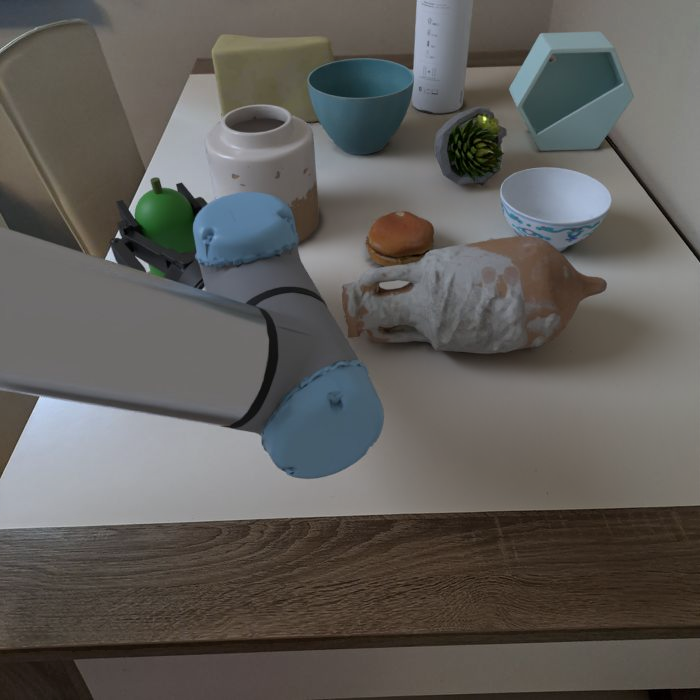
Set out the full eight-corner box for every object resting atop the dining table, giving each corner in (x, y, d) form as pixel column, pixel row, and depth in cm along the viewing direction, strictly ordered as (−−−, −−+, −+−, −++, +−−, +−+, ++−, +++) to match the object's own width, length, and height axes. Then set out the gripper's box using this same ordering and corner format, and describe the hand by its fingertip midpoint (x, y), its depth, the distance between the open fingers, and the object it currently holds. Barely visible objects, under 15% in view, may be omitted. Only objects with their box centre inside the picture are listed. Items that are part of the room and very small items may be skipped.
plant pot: (328, 119, 127) (324, 54, 118) (419, 127, 123) (422, 60, 115) (299, 162, 114) (293, 93, 106) (400, 172, 110) (402, 102, 102)
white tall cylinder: (473, 102, 131) (489, -45, 113) (443, 120, 125) (455, -33, 107) (431, 89, 136) (440, -54, 118) (400, 105, 130) (405, -42, 112)
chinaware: (472, 230, 97) (478, 184, 92) (549, 203, 102) (558, 157, 97) (540, 283, 87) (551, 235, 82) (621, 249, 92) (636, 202, 87)
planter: (552, 174, 118) (502, 80, 106) (542, 154, 123) (494, 62, 112) (644, 122, 111) (602, 16, 99) (630, 103, 117) (589, 1, 105)
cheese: (340, 108, 130) (337, 29, 120) (336, 129, 123) (333, 47, 113) (232, 108, 132) (219, 30, 121) (222, 130, 125) (208, 48, 114)
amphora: (642, 285, 66) (354, 236, 64) (585, 405, 75) (330, 365, 73) (602, 232, 78) (357, 189, 76) (557, 342, 87) (336, 306, 85)
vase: (321, 196, 105) (314, 94, 94) (317, 250, 94) (308, 142, 83) (228, 198, 106) (210, 97, 94) (213, 252, 95) (190, 145, 83)
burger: (381, 276, 89) (381, 248, 86) (357, 241, 96) (357, 214, 93) (445, 261, 92) (448, 233, 89) (418, 228, 98) (419, 200, 95)
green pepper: (155, 294, 77) (126, 199, 68) (150, 263, 81) (122, 171, 73) (210, 282, 78) (189, 188, 69) (202, 253, 83) (180, 160, 74)
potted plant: (505, 136, 112) (547, 151, 99) (453, 192, 114) (487, 214, 101) (461, 85, 106) (499, 94, 93) (407, 145, 109) (437, 162, 96)
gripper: (137, 369, 62) (80, 253, 77) (315, 300, 69) (232, 205, 84) (115, 310, 57) (59, 197, 72) (310, 241, 64) (222, 151, 79)
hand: (152, 201), depth 78 cm, fingers closed on green pepper, 7 cm apart
